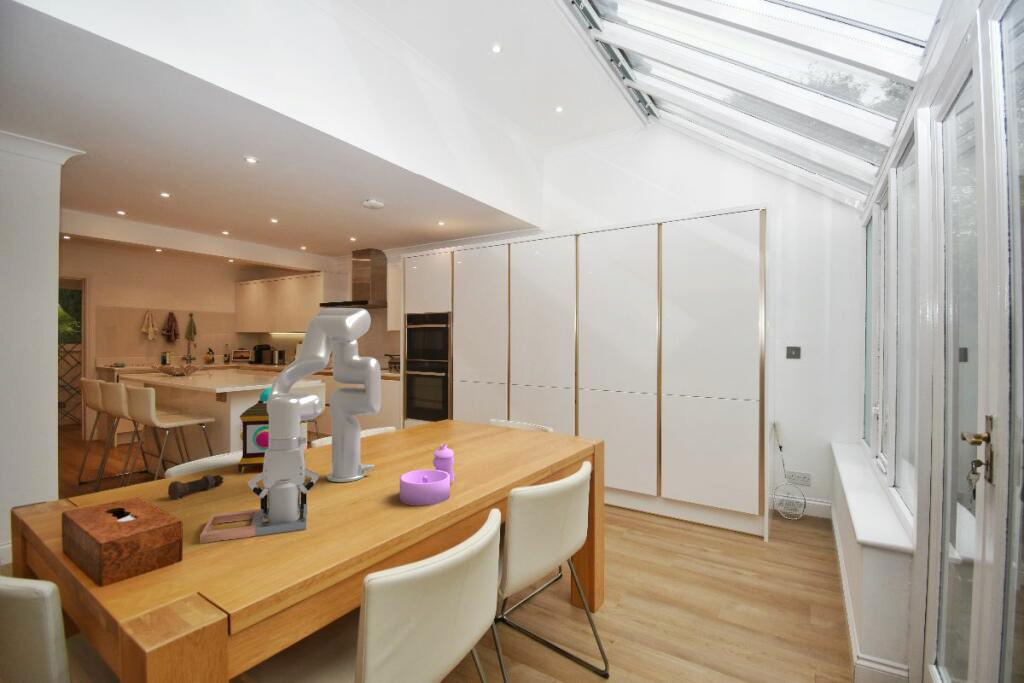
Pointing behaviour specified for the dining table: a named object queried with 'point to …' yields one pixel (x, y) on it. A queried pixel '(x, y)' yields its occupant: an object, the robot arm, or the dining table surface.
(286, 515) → the can
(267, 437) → the decorative lantern
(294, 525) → the tray
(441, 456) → the container set
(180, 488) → the bolt
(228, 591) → the dining table surface
